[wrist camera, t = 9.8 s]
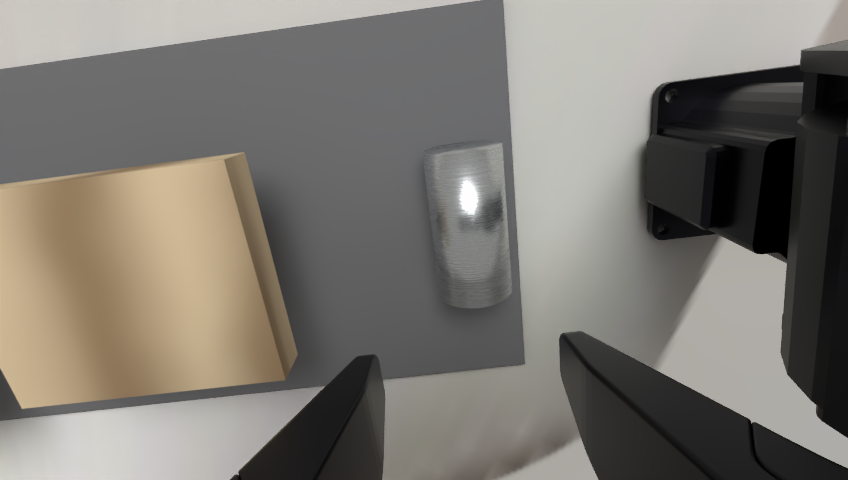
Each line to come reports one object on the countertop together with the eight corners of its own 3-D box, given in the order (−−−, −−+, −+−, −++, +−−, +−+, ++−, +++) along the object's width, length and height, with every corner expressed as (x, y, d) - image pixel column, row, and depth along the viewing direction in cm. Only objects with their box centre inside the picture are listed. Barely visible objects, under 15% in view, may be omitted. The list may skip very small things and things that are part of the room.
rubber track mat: (501, -1, 16) (502, -3, 16) (522, 359, 22) (524, 364, 21) (-240, 105, 17) (-255, 105, 17) (-48, 421, 23) (-56, 426, 22)
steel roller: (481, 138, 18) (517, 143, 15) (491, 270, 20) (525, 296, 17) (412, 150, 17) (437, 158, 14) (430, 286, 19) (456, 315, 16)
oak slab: (244, 152, 15) (223, 159, 13) (297, 354, 17) (285, 380, 16) (-38, 189, 15) (-90, 200, 13) (56, 381, 18) (21, 408, 16)
